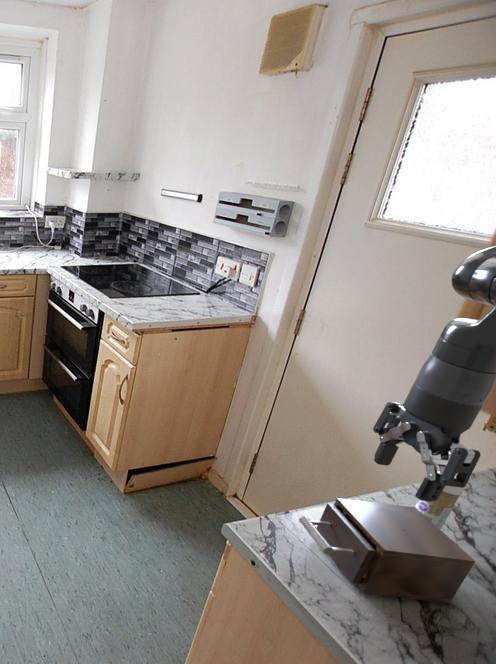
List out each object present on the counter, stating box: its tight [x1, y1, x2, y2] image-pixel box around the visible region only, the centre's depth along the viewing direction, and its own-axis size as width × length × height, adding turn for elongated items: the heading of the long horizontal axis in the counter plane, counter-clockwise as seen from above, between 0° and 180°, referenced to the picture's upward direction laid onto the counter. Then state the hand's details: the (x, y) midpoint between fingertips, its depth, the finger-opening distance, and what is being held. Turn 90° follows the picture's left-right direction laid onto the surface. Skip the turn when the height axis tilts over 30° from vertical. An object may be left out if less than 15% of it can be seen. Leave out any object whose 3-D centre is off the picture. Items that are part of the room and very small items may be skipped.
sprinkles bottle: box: [414, 470, 467, 531], centre depth 85 cm, size 5×5×14 cm
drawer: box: [298, 502, 379, 586], centre depth 78 cm, size 18×10×7 cm, turn 86°
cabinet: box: [333, 497, 477, 605], centre depth 77 cm, size 14×12×9 cm
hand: (401, 480), depth 72 cm, fingers open, 8 cm apart
